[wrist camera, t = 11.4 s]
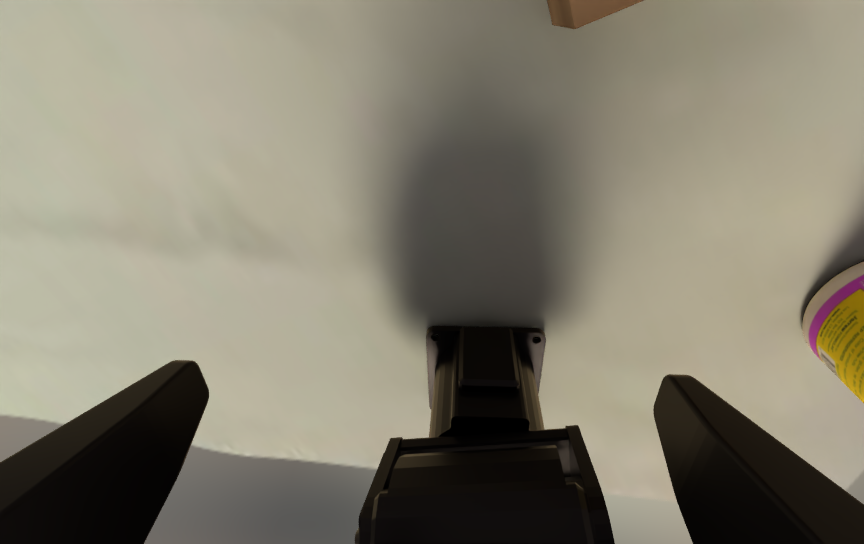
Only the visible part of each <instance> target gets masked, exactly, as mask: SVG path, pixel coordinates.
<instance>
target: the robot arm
mask: <svg viewBox="0 0 864 544" xmlns="http://www.w3.org/2000/svg"><path fill="white" fill-rule="evenodd" d="M433 334H438V335H439V336H433ZM536 336H538V337H539V338H538V339H533V337H536ZM426 341H427V363H428V384H429V406H430V409H431V421H430V432H429V438H415V439H403V438H402V437H399V438H391V439H390V441H389V443H388V446H387V448H386V451H385V453H384V454H383V457H382V459H381V462H380V464H379V467H378V469H377V472H376V474H375V477H374V480H373V482H372V485H371V487H370V490H369V492H368V495H367V498H366V500H365V502H364V505H363V507H362V510H361V513H360V516H359V528H358V530H357V532H356V535H355V544H615V543H614V538H613V533H612V528H611V524H610V519H609V515H608V511H607V507H606V504H605V500H604V496H603V493H602V490H601V487H600V484H599V482H598V479H597V476H596V473H595V471H594V468H593V465H592V462H591V460H590V457H589V454H588V451H587V449H586V446H585V443H584V440H583V438H582V435H581V432H580V429H579V427H578V425H573V426H566V428H562V429H547V430H544V425H543V419H542V414H541V408H540V403H539V397H538V393H539V386H540V379H541V371H542V364H543V357H544V350H545V343H546V337H545V333H544V331H543V330H541V329H538V328H507V327H461V326H432V327H430V328H429V329H428V330H427V336H426ZM208 399H209V390H208V387H207V384H206V382H205V380H204V377H203V375H202V372H201V370H200V368H199V366H198V364H197V363H196V362H195V361H189V360H175V361H171V362H170V363H168V364H166V365H164V366H163V367H161V368H159V369H158V370H156V371H154V372H153V373H151V374H149V375H147V376H146V377H144V378H142V379H141V380H139V381H137V382H136V383H134V384H132V385H131V386H129V387H127V388H125V389H124V390H122V391H120V392H119V393H117V394H115V395H114V396H112V397H110V398H109V399H107V400H105V401H103V402H102V403H100V404H98V405H97V406H95V407H93V408H92V409H90V410H88V411H87V412H85V413H83V414H81V415H80V416H78V417H76V418H75V419H73V420H71V421H70V422H68V423H66V424H64V425H63V426H61V427H59V428H58V429H56V430H54V431H53V432H51V433H49V434H48V435H46V436H44V437H42V438H41V439H39V440H37V441H36V442H34V443H32V444H31V445H29V446H27V447H26V448H24V449H22V450H21V451H19V452H17V453H15V454H14V455H12V456H10V457H9V458H7V459H5V460H4V461H2V462H0V544H144V542H145V540H146V538H147V536H148V534H149V532H150V531H151V529H152V527H153V525H154V523H155V521H156V519H157V517H158V515H159V513H160V511H161V509H162V507H163V505H164V503H165V501H166V499H167V497H168V495H169V493H170V491H171V489H172V487H173V485H174V483H175V481H176V479H177V477H178V475H179V473H180V470H181V468H182V466H183V464H184V461H185V458H186V456H187V453H188V451H189V448H190V446H191V443H192V441H193V438H194V436H195V433H196V431H197V428H198V426H199V423H200V420H201V418H202V415H203V413H204V410H205V408H206V405H207V403H208ZM654 418H655V422H656V426H657V430H658V434H659V437H660V441H661V445H662V448H663V452H664V456H665V460H666V463H667V467H668V471H669V475H670V478H671V482H672V486H673V489H674V493H675V496H676V499H677V502H678V505H679V508H680V511H681V513H682V516H683V518H684V521H685V524H686V526H687V529H688V531H689V534H690V537H691V539H692V542H693V544H864V504H862V503H861V502H860V501H858V500H857V499H856V498H854V497H853V496H851V495H850V494H849V493H848V492H846V491H845V490H844V489H842V488H841V487H840V486H838V485H837V484H836V483H834V482H833V481H831V480H830V479H829V478H827V477H826V476H825V475H823V474H822V473H821V472H819V471H818V470H817V469H815V468H814V467H813V466H811V465H810V464H809V463H807V462H806V461H805V460H803V459H802V458H801V457H799V456H798V455H797V454H795V453H794V452H793V451H791V450H790V449H789V448H787V447H786V446H785V445H783V444H782V443H781V442H779V441H778V440H777V439H775V438H774V437H773V436H771V435H770V434H769V433H767V432H766V431H765V430H763V429H762V428H761V427H759V426H758V425H757V424H755V423H754V422H753V421H751V420H750V419H749V418H747V417H746V416H744V415H743V414H742V413H740V412H739V411H738V410H736V409H735V408H734V407H732V406H731V405H730V404H728V403H727V402H726V401H724V400H723V399H722V398H720V397H719V396H718V395H716V394H715V393H714V392H712V391H711V390H710V389H708V388H707V387H706V386H704V385H703V384H702V383H700V382H699V381H698V380H696V379H695V378H693V377H692V376H689V375H672V374H670V375H666V376H665V377H664V378H663V380H662V383H661V386H660V389H659V392H658V395H657V398H656V401H655V404H654Z"/></svg>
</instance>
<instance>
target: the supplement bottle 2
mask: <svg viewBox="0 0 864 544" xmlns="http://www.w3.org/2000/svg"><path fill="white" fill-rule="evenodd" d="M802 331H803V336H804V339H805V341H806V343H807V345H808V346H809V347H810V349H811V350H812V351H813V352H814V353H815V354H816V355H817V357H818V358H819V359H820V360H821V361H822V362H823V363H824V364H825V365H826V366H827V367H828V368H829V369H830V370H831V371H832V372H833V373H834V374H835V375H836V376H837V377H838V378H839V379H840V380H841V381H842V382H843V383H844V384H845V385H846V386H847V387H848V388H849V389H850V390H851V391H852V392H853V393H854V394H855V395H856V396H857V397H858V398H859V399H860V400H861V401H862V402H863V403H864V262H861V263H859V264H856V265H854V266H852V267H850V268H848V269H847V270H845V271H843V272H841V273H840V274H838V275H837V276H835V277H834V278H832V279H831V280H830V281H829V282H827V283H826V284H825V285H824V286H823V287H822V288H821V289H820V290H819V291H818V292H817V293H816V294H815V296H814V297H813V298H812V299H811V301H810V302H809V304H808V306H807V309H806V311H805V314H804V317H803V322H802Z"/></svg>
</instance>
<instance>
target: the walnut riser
mask: <svg viewBox="0 0 864 544" xmlns="http://www.w3.org/2000/svg"><path fill="white" fill-rule="evenodd" d="M641 1H644V0H547V2H548V6H549V11H550V15H551V20H552V24H553V25H556V26H561V27H567V28H572V29H576V28H579V27H581V26H584V25H586V24H588V23H591V22H593V21H596V20H598V19H600V18H603V17H605V16H608V15H610V14H612V13H615V12H617V11H620V10H622V9H624V8H627V7H629V6H632V5H634V4H636V3H639V2H641Z"/></svg>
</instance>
